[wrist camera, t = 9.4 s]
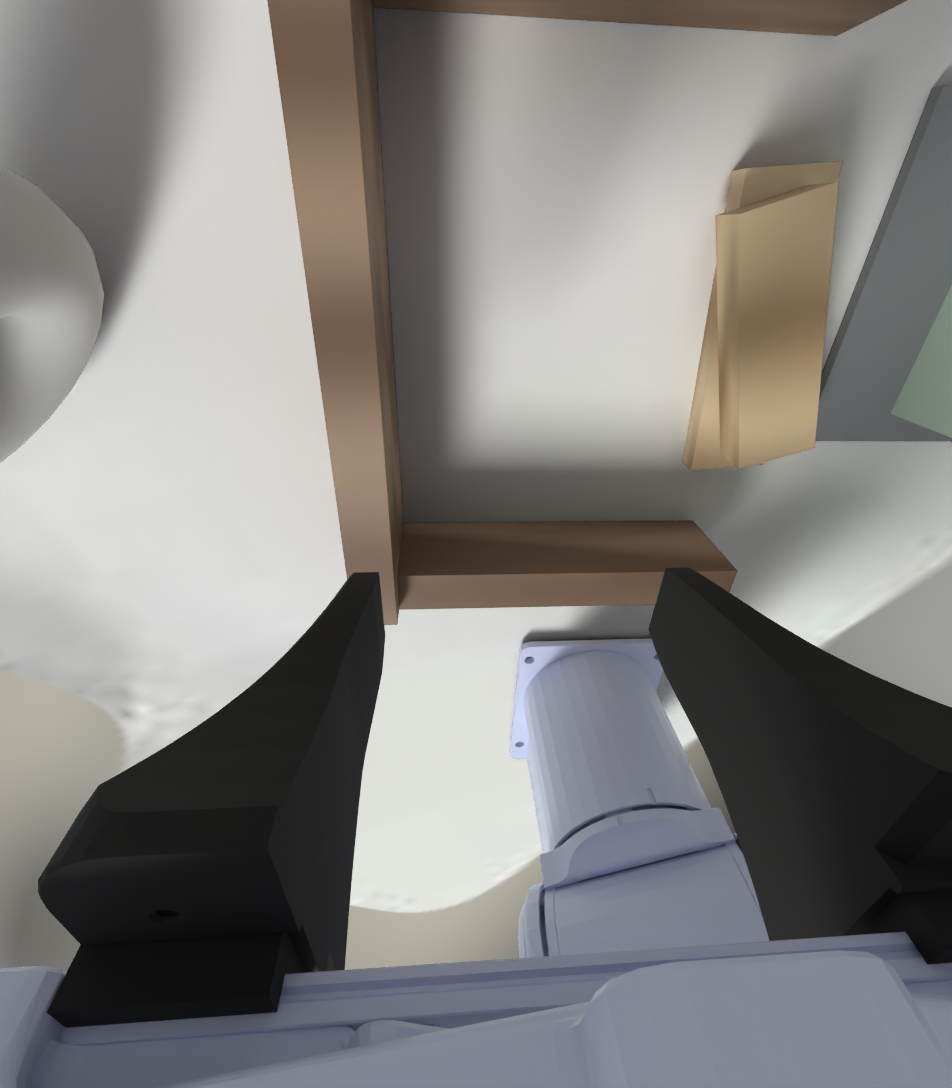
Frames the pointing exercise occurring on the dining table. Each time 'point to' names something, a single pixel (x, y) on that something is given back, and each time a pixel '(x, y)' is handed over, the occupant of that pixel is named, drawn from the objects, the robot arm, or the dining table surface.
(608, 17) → the frame
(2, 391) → the donut
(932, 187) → the mat
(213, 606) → the dining table surface
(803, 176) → the offcut lower
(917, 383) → the board
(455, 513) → the dining table surface
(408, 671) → the dining table surface
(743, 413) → the offcut upper
